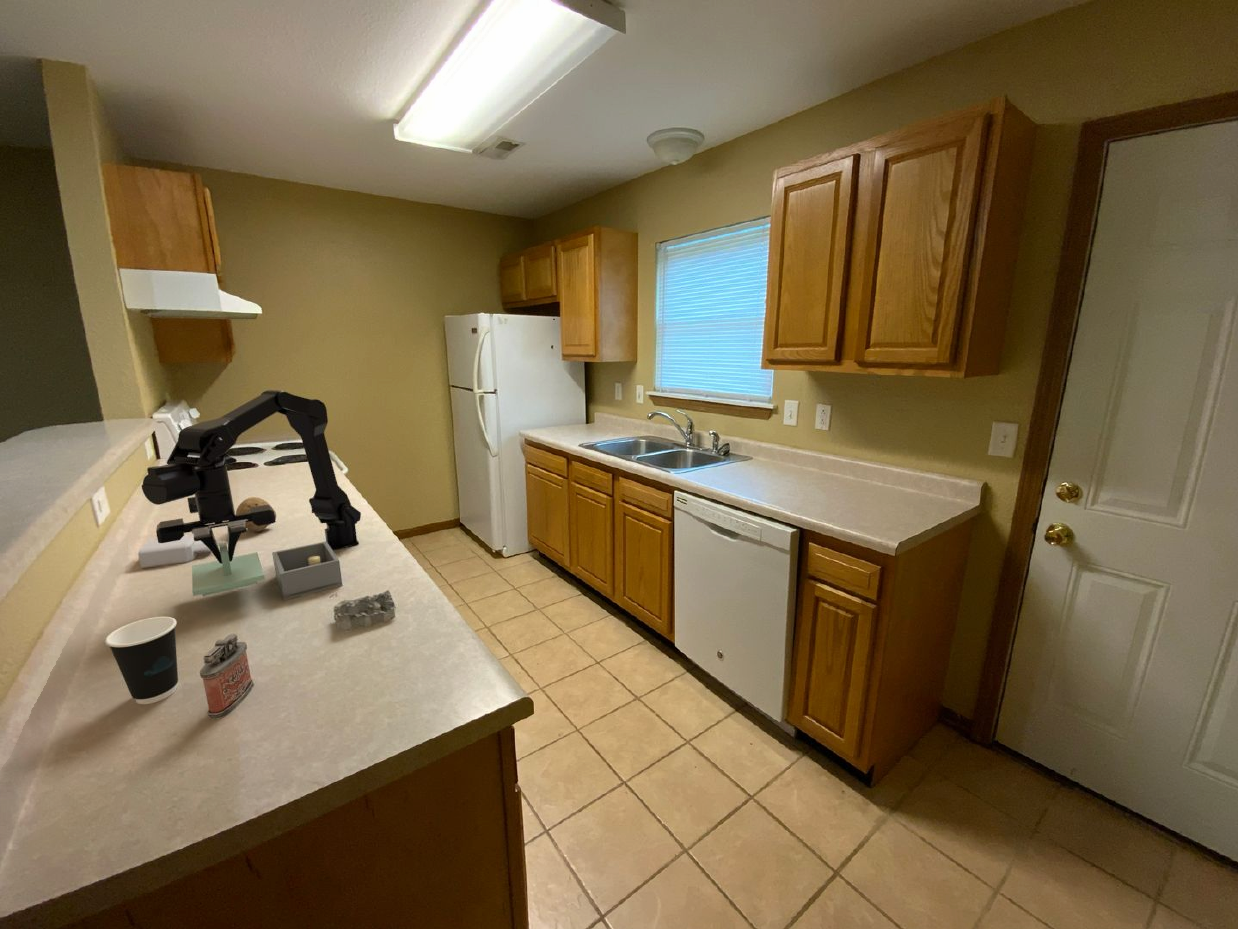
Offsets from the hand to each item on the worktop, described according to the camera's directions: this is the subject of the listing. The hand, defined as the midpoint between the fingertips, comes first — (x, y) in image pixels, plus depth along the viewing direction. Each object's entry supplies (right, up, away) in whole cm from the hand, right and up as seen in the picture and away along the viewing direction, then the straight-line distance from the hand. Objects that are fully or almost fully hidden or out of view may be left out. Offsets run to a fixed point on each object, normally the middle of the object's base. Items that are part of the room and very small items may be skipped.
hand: (226, 561), depth 107 cm
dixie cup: (+10, -16, -27) cm, 32 cm away
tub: (+11, -6, +11) cm, 16 cm away
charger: (-27, -3, +23) cm, 36 cm away
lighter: (+22, -16, -28) cm, 39 cm away
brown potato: (-22, +1, +40) cm, 45 cm away
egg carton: (+31, -11, -5) cm, 33 cm away
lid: (0, -4, +1) cm, 4 cm away
